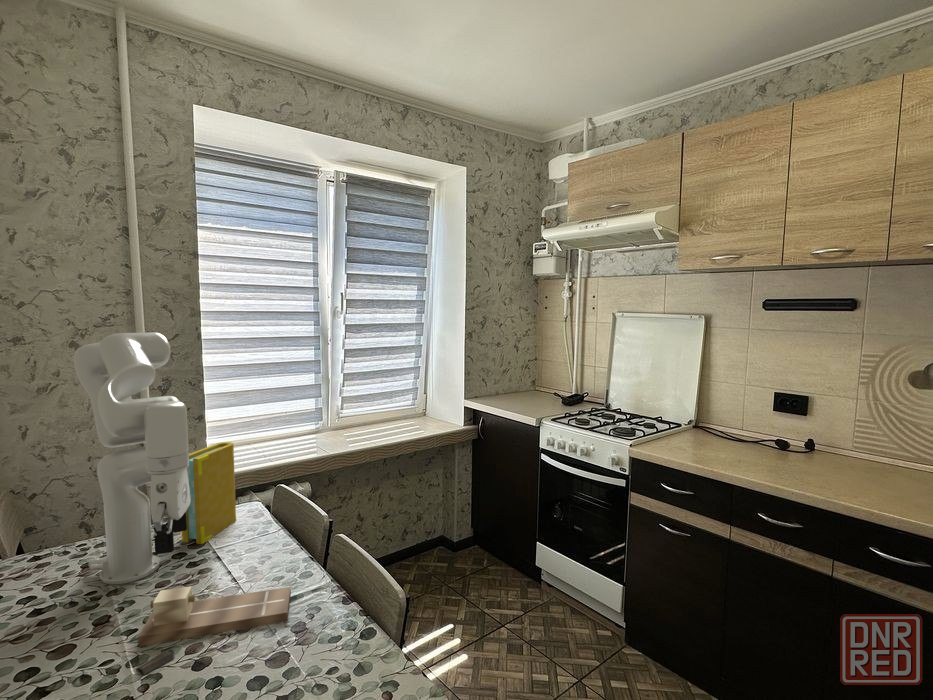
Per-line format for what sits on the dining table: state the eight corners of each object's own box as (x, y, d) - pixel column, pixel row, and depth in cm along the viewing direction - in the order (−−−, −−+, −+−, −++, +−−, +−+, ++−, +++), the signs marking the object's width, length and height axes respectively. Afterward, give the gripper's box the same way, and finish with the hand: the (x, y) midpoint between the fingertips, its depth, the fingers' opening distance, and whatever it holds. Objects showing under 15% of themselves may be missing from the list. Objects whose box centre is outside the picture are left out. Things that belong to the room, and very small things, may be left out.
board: (138, 646, 96) (138, 636, 95) (155, 615, 105) (155, 606, 105) (287, 621, 103) (287, 612, 103) (290, 594, 113) (290, 586, 113)
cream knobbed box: (148, 627, 98) (147, 603, 98) (156, 613, 103) (154, 591, 102) (192, 620, 101) (191, 597, 100) (197, 607, 105) (196, 585, 104)
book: (202, 544, 137) (198, 459, 135) (182, 541, 139) (178, 457, 136) (241, 519, 154) (238, 442, 152) (222, 517, 155) (220, 441, 153)
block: (136, 675, 90) (134, 666, 89) (168, 654, 95) (167, 645, 95) (146, 681, 88) (144, 671, 88) (179, 658, 93) (177, 649, 93)
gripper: (176, 473, 92) (180, 559, 93) (198, 448, 108) (201, 522, 110) (131, 477, 90) (136, 564, 91) (160, 451, 106) (164, 526, 107)
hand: (172, 541), depth 100 cm, fingers open, 9 cm apart
